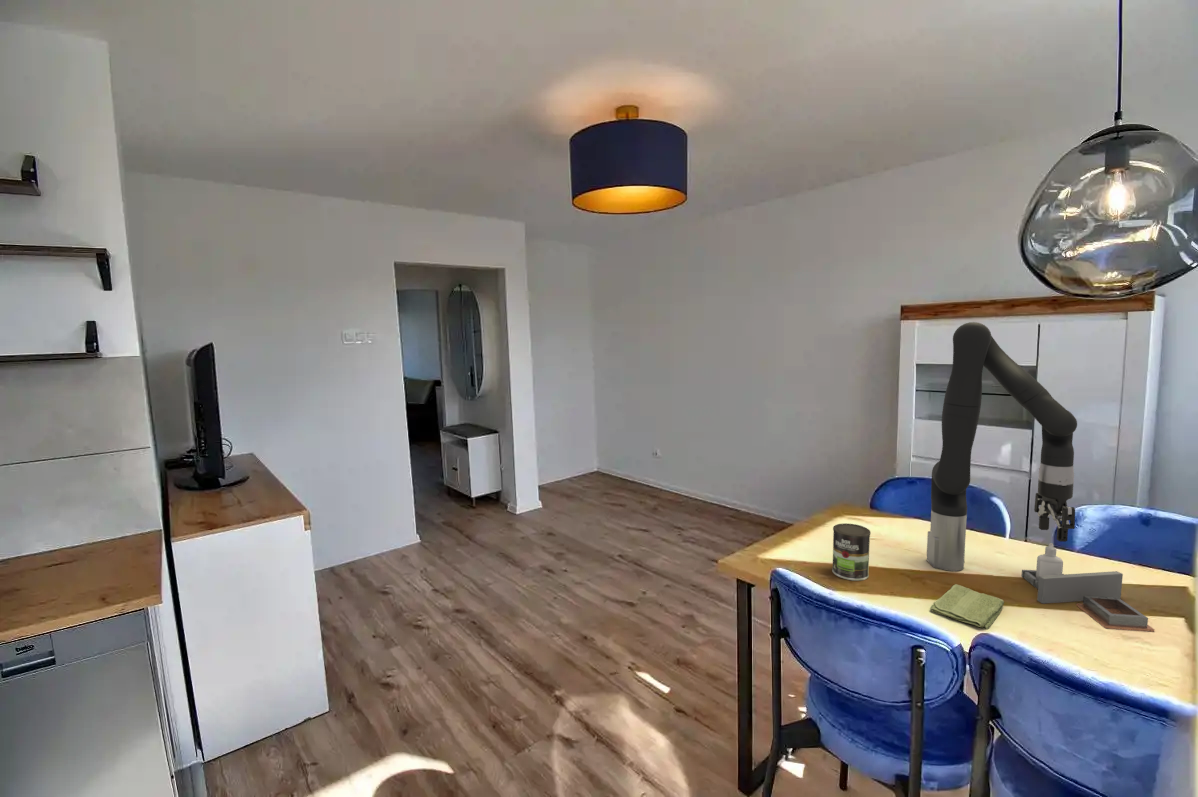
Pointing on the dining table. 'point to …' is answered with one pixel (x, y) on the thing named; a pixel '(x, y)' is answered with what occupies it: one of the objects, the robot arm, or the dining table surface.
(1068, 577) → the grey divider panel
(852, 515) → the dining table surface
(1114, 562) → the dining table surface
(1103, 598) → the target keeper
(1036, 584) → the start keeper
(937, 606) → the washcloth
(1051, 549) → the eye dropper bottle
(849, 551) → the coffee can
